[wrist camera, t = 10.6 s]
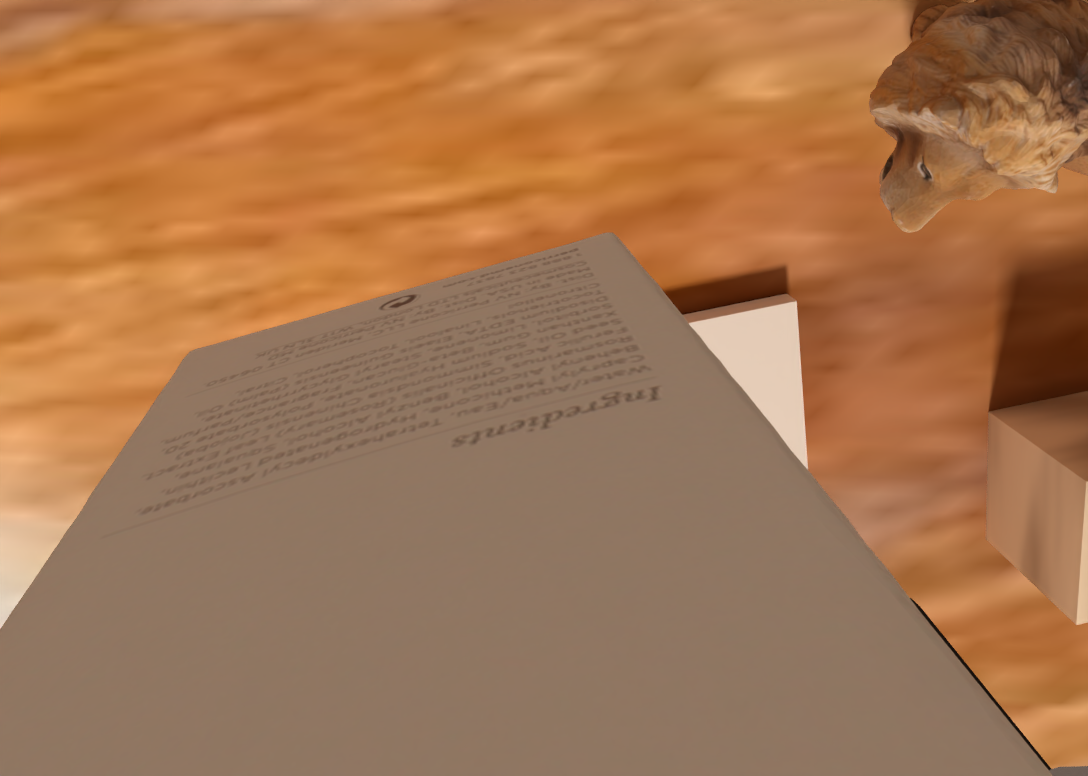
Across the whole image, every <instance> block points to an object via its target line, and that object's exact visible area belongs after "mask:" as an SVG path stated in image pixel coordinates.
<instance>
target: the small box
mask: <svg viewBox="0 0 1088 776" xmlns="http://www.w3.org/2000/svg"><path fill="white" fill-rule="evenodd" d="M0 776H1053V775H1052V774H1051V773H1050V771H1049V770H1048V769H1047V768H1046V766H1045V765H1044V764H1043V763H1042V761H1041V760H1040V759H1039V758H1038V757H1037V755H1036V754H1035V753H1034V752H1033V750H1032V749H1031V748H1030V747H1029V745H1028V744H1027V743H1026V742H1025V741H1024V739H1023V738H1022V737H1021V736H1020V734H1019V733H1018V732H1017V731H1016V729H1015V728H1014V727H1013V726H1012V724H1011V723H1010V722H1009V721H1008V720H1007V718H1006V717H1005V716H1004V715H1003V713H1002V712H1001V711H1000V710H999V708H998V707H997V706H996V705H995V704H994V702H993V701H992V700H991V699H990V697H989V696H988V695H987V694H986V692H985V691H984V690H983V689H982V687H981V686H980V685H979V684H978V683H977V681H976V680H975V679H974V678H973V676H972V675H971V674H970V673H969V671H968V670H967V669H966V668H965V667H964V665H963V664H962V663H961V662H960V660H959V659H958V658H957V657H956V656H955V654H954V653H953V652H952V651H951V649H950V648H949V647H948V646H947V644H946V643H945V642H944V641H943V640H942V638H941V637H940V636H939V635H938V633H937V632H936V631H935V630H934V628H933V627H932V626H931V625H930V624H929V622H928V621H927V620H926V619H925V617H924V616H923V615H922V614H921V612H920V611H919V610H918V608H917V607H916V606H915V605H914V603H913V602H912V601H911V599H910V598H909V597H908V595H907V594H906V593H905V591H904V590H903V589H902V587H901V586H900V585H899V584H898V582H897V581H896V580H895V578H894V577H893V576H892V574H891V573H890V572H889V570H888V569H887V568H886V567H885V566H884V564H883V563H882V562H881V561H880V560H879V559H878V557H877V556H876V555H875V554H874V553H873V551H872V550H871V549H870V548H869V547H868V546H867V544H866V543H865V542H864V541H863V539H862V538H861V537H860V535H859V534H858V532H857V531H856V530H855V528H854V527H853V526H852V524H851V523H850V521H849V520H848V519H847V518H846V516H845V515H844V514H843V513H842V512H841V510H840V509H839V508H838V507H837V506H836V504H835V503H834V502H833V501H832V500H831V498H830V497H829V496H828V495H827V493H826V492H825V491H824V490H823V488H822V487H821V486H820V485H819V483H818V482H817V481H816V479H815V478H814V477H813V476H812V474H811V473H810V472H809V471H808V469H807V468H806V467H805V466H804V465H803V464H802V462H801V461H800V460H799V459H798V458H797V457H796V455H795V454H794V453H793V452H792V451H791V450H790V448H789V447H788V446H787V444H786V443H785V441H784V440H783V439H782V437H781V436H780V435H779V433H778V432H777V431H776V429H775V428H774V427H773V426H772V424H771V423H770V422H769V421H768V419H767V418H766V417H765V416H764V415H763V413H762V412H761V411H760V410H759V408H758V407H757V406H756V405H755V403H754V402H753V401H752V400H751V398H750V397H749V396H748V395H747V393H746V392H745V391H744V390H743V388H742V387H741V386H740V385H739V384H738V383H737V382H736V381H735V379H734V378H733V377H732V376H731V375H730V373H729V372H728V371H727V369H726V368H725V367H724V365H723V364H722V362H721V361H720V360H719V359H718V358H717V357H716V356H715V355H714V353H713V352H712V351H711V350H710V349H709V348H708V347H707V345H706V344H705V343H704V341H703V340H702V338H701V337H700V336H699V335H698V334H697V332H696V331H695V330H694V329H693V328H692V327H691V326H690V325H689V323H688V322H687V321H686V319H685V318H684V316H683V315H682V314H681V313H680V311H679V310H678V309H677V308H676V306H675V305H674V304H673V303H672V302H671V300H670V299H669V298H668V297H667V295H666V294H665V293H664V291H663V290H662V289H661V288H660V286H659V285H658V284H657V283H656V282H655V281H654V279H653V278H652V277H651V276H650V275H649V274H648V273H647V272H646V271H645V270H644V268H643V267H642V266H641V265H640V263H639V262H638V261H637V260H636V259H635V257H634V256H633V255H632V254H631V252H630V251H629V250H628V249H627V247H626V246H625V245H624V244H623V243H622V241H621V240H620V239H619V238H618V237H617V236H616V235H615V234H613V233H604V234H600V235H597V236H594V237H591V238H587V239H584V240H580V241H577V242H574V243H570V244H567V245H564V246H560V247H556V248H553V249H549V250H546V251H542V252H538V253H535V254H531V255H527V256H524V257H520V258H517V259H513V260H510V261H506V262H503V263H499V264H495V265H492V266H488V267H485V268H481V269H478V270H474V271H471V272H467V273H464V274H460V275H457V276H453V277H449V278H446V279H442V280H439V281H435V282H432V283H428V284H425V285H421V286H417V287H414V288H410V289H407V290H403V291H400V292H396V293H392V294H389V295H385V296H382V297H378V298H375V299H371V300H367V301H364V302H360V303H357V304H353V305H350V306H346V307H343V308H340V309H336V310H333V311H329V312H326V313H323V314H319V315H316V316H312V317H309V318H305V319H302V320H298V321H295V322H291V323H287V324H284V325H280V326H277V327H273V328H270V329H266V330H262V331H259V332H255V333H252V334H248V335H245V336H241V337H238V338H235V339H231V340H228V341H224V342H221V343H217V344H214V345H210V346H206V347H202V348H198V349H195V350H193V351H191V352H189V354H188V355H187V356H186V357H185V358H184V359H183V360H182V362H181V364H180V365H179V367H178V368H177V370H176V372H175V373H174V375H173V376H172V378H171V379H170V381H169V382H168V383H167V385H166V386H165V387H164V389H163V390H162V392H161V393H160V394H159V396H158V397H157V399H156V400H155V402H154V403H153V405H152V406H151V408H150V409H149V411H148V412H147V414H146V415H145V417H144V418H143V420H142V421H141V423H140V424H139V426H138V427H137V428H136V430H135V431H134V433H133V434H132V436H131V437H130V439H129V440H128V442H127V443H126V445H125V446H124V448H123V449H122V451H121V452H120V453H119V455H118V456H117V458H116V459H115V461H114V462H113V464H112V465H111V467H110V468H109V469H108V471H107V472H106V474H105V475H104V477H103V478H102V479H101V481H100V482H99V484H98V485H97V486H96V488H95V489H94V491H93V492H92V494H91V495H90V497H89V498H88V500H87V502H86V504H85V505H84V507H83V509H82V510H81V512H80V513H79V515H78V516H77V518H76V519H75V521H74V522H73V524H72V525H71V526H70V528H69V529H68V530H67V532H66V533H65V535H64V536H63V538H62V539H61V541H60V543H59V544H58V545H57V547H56V548H55V550H54V551H53V552H52V554H51V555H50V557H49V558H48V560H47V561H46V563H45V564H44V566H43V567H42V569H41V570H40V572H39V573H38V575H37V576H36V578H35V579H34V581H33V582H32V584H31V585H30V587H29V588H28V590H27V591H26V592H25V594H24V595H23V597H22V598H21V600H20V601H19V603H18V604H17V605H16V607H15V608H14V610H13V611H12V613H11V614H10V616H9V617H8V619H7V620H6V622H5V623H4V625H3V626H2V628H1V629H0Z"/></svg>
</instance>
